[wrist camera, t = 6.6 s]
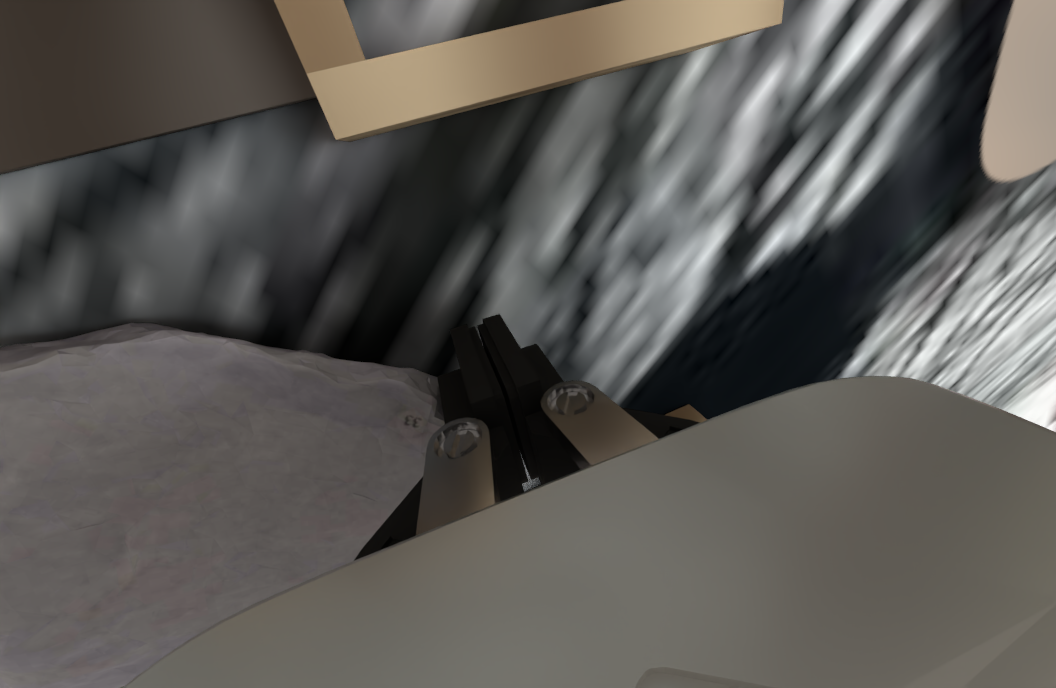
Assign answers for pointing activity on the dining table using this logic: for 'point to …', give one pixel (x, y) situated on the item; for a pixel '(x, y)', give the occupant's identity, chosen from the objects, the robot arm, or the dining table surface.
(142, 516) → the stone block
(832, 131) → the dining table surface
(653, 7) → the box
